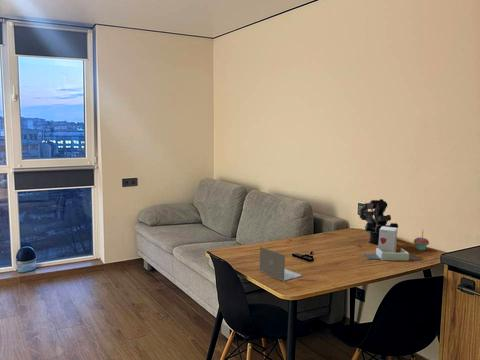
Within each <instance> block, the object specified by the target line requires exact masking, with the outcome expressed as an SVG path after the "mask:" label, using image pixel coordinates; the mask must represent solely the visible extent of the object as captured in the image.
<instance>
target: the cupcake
mask: <svg viewBox="0 0 480 360" xmlns="http://www.w3.org/2000/svg"><path fill="white" fill-rule="evenodd" d="M413 243H414V244H415V248H416V249H417V250H419V251H425V250H426V248H427V246H429V244H430V241H429V240H428V239H427V238H425V237H424V230H422V231H421V237H416V238H415V239H414V240H413Z"/></svg>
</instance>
